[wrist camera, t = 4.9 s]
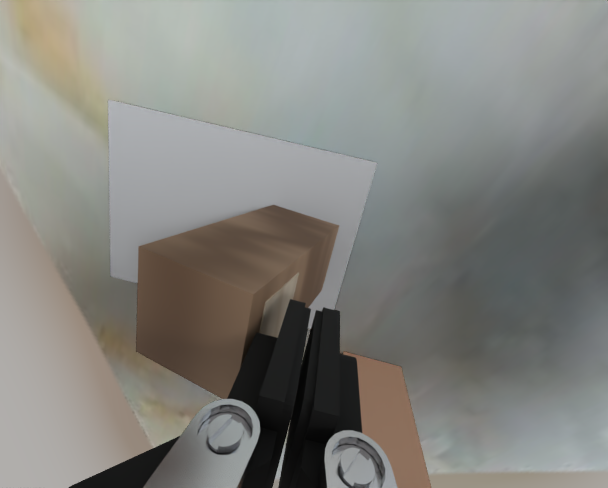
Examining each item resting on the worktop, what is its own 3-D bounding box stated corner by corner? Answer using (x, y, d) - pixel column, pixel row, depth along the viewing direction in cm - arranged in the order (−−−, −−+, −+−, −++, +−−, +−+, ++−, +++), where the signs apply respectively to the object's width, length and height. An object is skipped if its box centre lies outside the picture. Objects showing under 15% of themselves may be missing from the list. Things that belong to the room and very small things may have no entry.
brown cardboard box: (340, 225, 16) (255, 295, 8) (322, 290, 17) (234, 405, 9) (273, 204, 17) (138, 246, 9) (262, 266, 18) (136, 351, 10)
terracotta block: (401, 366, 20) (441, 528, 12) (383, 409, 22) (407, 580, 13) (343, 351, 20) (343, 499, 12) (329, 394, 22) (320, 554, 13)
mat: (376, 162, 16) (377, 163, 16) (327, 328, 20) (327, 333, 19) (116, 101, 17) (107, 99, 16) (116, 272, 21) (110, 276, 20)
